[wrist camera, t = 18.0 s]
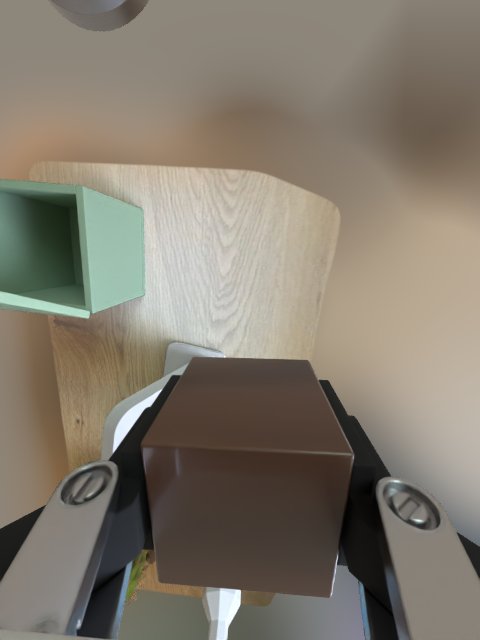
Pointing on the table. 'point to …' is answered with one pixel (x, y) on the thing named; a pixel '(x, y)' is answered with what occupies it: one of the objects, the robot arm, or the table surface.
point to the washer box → (70, 245)
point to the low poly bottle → (220, 610)
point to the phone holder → (147, 395)
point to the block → (247, 478)
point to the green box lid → (38, 306)
